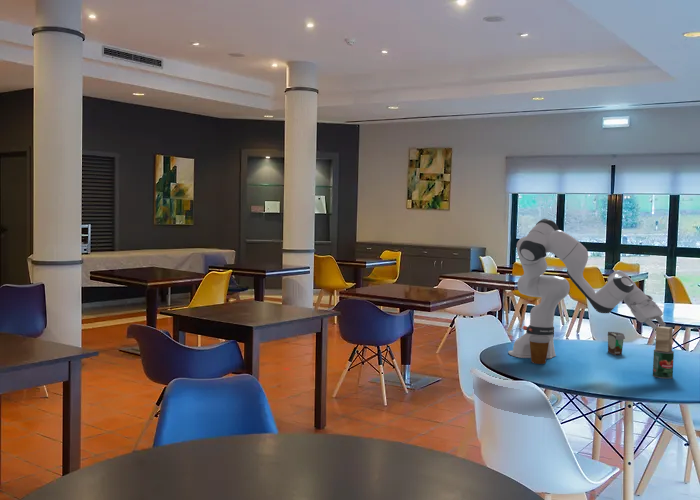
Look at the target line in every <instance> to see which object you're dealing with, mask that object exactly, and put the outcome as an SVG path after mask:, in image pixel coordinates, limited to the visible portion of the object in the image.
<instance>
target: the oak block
mask: <svg viewBox="0 0 700 500" xmlns="http://www.w3.org/2000/svg"><path fill="white" fill-rule="evenodd" d="M673 330H674V327H671V326H660V325H659V326H657V328H656V329H655V346H654V347H655V349H654V350H655V351H662V352H670V351H673V333H674V332H673Z"/></svg>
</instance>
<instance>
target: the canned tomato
mask: <svg viewBox="0 0 700 500" xmlns="http://www.w3.org/2000/svg"><path fill="white" fill-rule="evenodd" d="M674 356H675V351H673V350H672V351H670V352H662V351H655V349H653V358H652V359H653V360H652V361H653V363H652V376H653V377H654V378H659V379H668V380H669V379H673V378H674V377H673V375H674V360H675V359H674V358H675V357H674Z"/></svg>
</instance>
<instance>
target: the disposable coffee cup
mask: <svg viewBox="0 0 700 500" xmlns="http://www.w3.org/2000/svg"><path fill="white" fill-rule="evenodd" d="M529 341H530V351H531V358H530V360H531V363H533V364H535V365H537V364H538V365H543V364H545V365H546V362H547V358H546V357H547V351H548V346H549V342H550V339H549V337H548V336H542V335H531V336H530V338H529Z"/></svg>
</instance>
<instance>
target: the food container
mask: <svg viewBox="0 0 700 500" xmlns="http://www.w3.org/2000/svg"><path fill="white" fill-rule="evenodd" d="M624 340H626V336H625V334H624V333H622V332H617V331H607V352H608V353H609V354H611V355H614V356H621V355H622V354H623V346H624Z"/></svg>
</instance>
